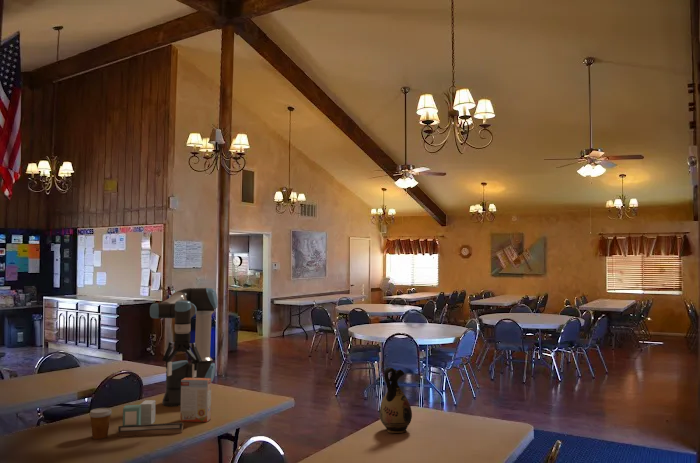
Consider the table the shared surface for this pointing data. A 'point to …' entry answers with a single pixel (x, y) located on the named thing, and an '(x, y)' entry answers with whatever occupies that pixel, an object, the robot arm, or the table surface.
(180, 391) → the robot arm
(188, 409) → the cracker box
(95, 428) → the disposable coffee cup
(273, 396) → the table surface
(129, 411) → the tea box
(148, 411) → the small box
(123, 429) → the shelf board
